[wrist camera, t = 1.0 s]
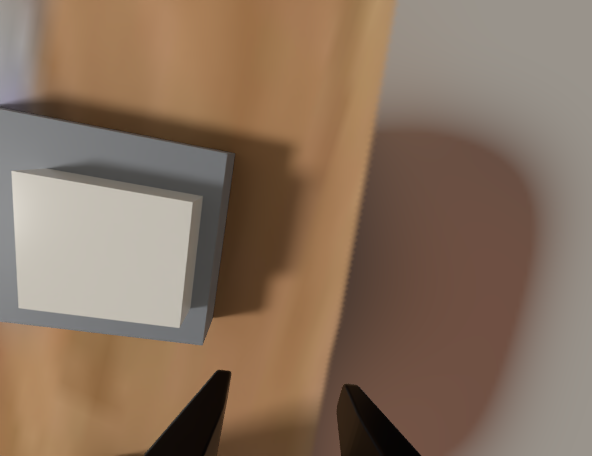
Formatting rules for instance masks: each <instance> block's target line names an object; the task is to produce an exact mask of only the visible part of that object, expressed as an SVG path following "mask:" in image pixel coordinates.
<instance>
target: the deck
mask: <svg viewBox="0 0 592 456" xmlns="http://www.w3.org/2000/svg"><path fill="white" fill-rule="evenodd" d="M234 158H235V153H231V152H226V151H221V150H216V149H211V148H206V147H201V146H195V145H190V144H185V143H180V142H175V141H170V140H165V139H160V138H155V137H149V136H144V135H139V134H134V133H129V132H124V131H119V130H114V129H109V128H104V127H98V126H93V125H88V124H83V123H78V122H73V121H68V120H63V119H58V118H53V117H47V116H42V115H37V114H32V113H27V112H22V111H17V110H12V109H7V108H2V107H0V322H9V323H17V324H26V325H34V326H43V327H51V328H60V329H68V330H76V331H85V332H93V333H102V334H110V335H119V336H127V337H136V338H144V339H153V340H161V341H170V342H178V343H187V344H195V345H203V343H204V340H205V337H206V335H207V332H208V330H209V327H210V324H211V322H212V319H213V312H214V305H215V298H216V290H217V283H218V276H219V268H220V261H221V254H222V246H223V239H224V232H225V224H226V217H227V210H228V202H229V195H230V188H231V180H232V173H233V166H234ZM44 168H47V169H53V170H58V171H64V172H70V173H75V174H81V175H87V176H92V177H98V178H104V179H109V180H115V181H121V182H126V183H132V184H137V185H143V186H149V187H154V188H160V189H166V190H171V191H177V192H183V193H188V194H194V195H200V196H203V201H202V210H201V219H200V228H199V236H198V245H197V254H196V263H195V272H194V280H193V289H192V298H191V307H190V310H189V312H188V314H187V315H186V317H185V319H184V321H183V323H182V325H181V326H180V328H175V327H167V326H159V325H151V324H142V323H134V322H126V321H118V320H110V319H102V318H94V317H86V316H78V315H70V314H62V313H53V312H45V311H37V310H29V309H21V308H18V289H17V269H16V250H15V231H14V212H13V193H12V174H11V171H16V170H30V169H44Z"/></svg>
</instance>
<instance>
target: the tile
mask: <svg viewBox="0 0 592 456" xmlns="http://www.w3.org/2000/svg"><path fill="white" fill-rule="evenodd" d="M11 174H12V193H13V212H14V231H15V250H16V269H17V289H18V308H21V309H29V310H37V311H45V312H53V313H62V314H70V315H78V316H86V317H94V318H102V319H110V320H118V321H126V322H134V323H142V324H151V325H159V326H167V327H175V328H180V326H181V325H182V323H183V321H184V319H185V317H186V315H187V314H188V312H189V310H190V307H191V298H192V289H193V280H194V272H195V263H196V254H197V245H198V236H199V228H200V219H201V210H202V201H203V196H200V195H194V194H188V193H183V192H177V191H171V190H166V189H160V188H154V187H149V186H143V185H137V184H132V183H126V182H121V181H115V180H109V179H104V178H98V177H92V176H87V175H81V174H75V173H70V172H64V171H58V170H53V169H47V168H44V169H30V170H16V171H11Z"/></svg>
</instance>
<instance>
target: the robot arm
mask: <svg viewBox="0 0 592 456" xmlns="http://www.w3.org/2000/svg"><path fill="white" fill-rule="evenodd" d="M230 380H231V372H230V371H225V370H217V371H216V372H215V373H214V374H213V375H212V377H211V378H210V379H209V380H208V381H207V382H206V384H205V385H204V386H203V387H202V388H201V389H200V391H199V392H198V393H197V394H196V395H195V396H194V397H193V399H192V400H191V401H190V402H189V403H188V404H187V406H186V407H185V408H184V409H183V410H182V411H181V413H180V414H179V415H178V416H177V417H176V418H175V420H174V421H173V422H172V423H171V424H170V425H169V427H168V428H167V429H166V430H165V431H164V432H163V433H162V435H161V436H160V437H159V438H158V439H157V440H156V442H155V443H154V444H153V445H152V446H151V447H150V449H149V450H148V451H147V452H146V453H145V454H144V456H217V451H218V446H219V441H220V435H221V430H222V425H223V419H224V414H225V409H226V404H227V398H228V392H229V386H230ZM337 421H338V430H339V440H340V449H341V456H421V455H420V454H419V453H418V452H417V451H416V449H415V448H414V447H413V446H412V445H411V444H410V443H409V442H408V441H407V439H406V438H405V437H404V436H403V435H402V434H401V433H400V432H399V430H398V429H397V428H396V427H395V426H394V425H393V424H392V423H391V422H390V421H389V420H388V418H387V417H386V416H385V415H384V414H383V413H382V412H381V411H380V410H379V408H377V406H376V405H375V404H374V403H373V402H372V401H371V400H370V398H369V397H368V396H367V395H366V394H365V393H364V392H363V391H362V390H361V389H360V387H358V386H357V385H354V384H344V385H343V387H342V390H341V394H340V397H339V401H338V405H337Z"/></svg>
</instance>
